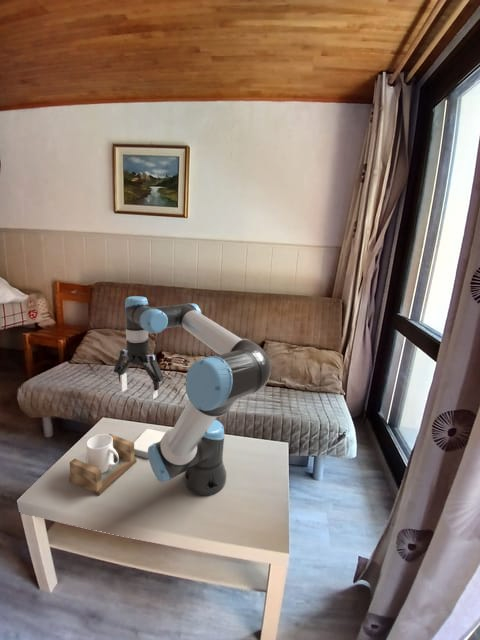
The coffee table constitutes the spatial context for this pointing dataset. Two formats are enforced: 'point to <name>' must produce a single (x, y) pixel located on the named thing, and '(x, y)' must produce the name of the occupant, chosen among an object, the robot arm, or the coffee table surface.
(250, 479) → the coffee table surface
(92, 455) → the mug
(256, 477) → the coffee table surface
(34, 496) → the coffee table surface
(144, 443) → the white rectangular block
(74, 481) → the cradle
